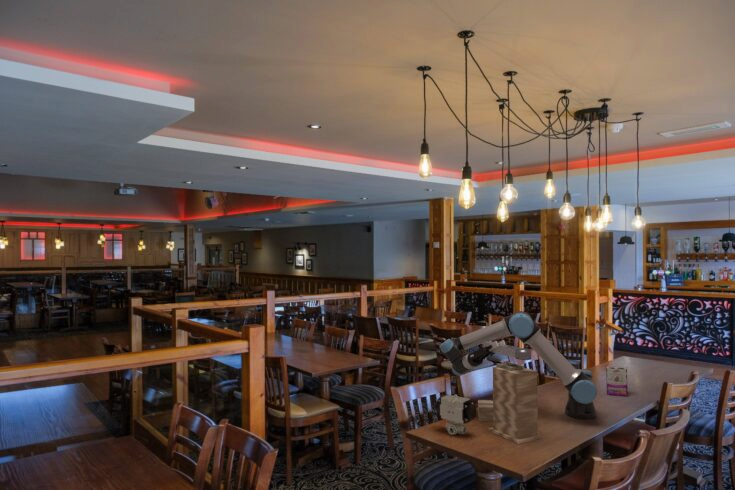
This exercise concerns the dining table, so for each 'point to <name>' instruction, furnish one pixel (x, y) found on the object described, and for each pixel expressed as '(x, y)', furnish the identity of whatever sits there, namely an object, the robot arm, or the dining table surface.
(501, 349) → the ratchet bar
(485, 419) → the beech block
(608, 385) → the candy bar box
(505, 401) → the oak stand
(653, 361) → the dining table surface
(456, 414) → the ball valve
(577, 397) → the robot arm
